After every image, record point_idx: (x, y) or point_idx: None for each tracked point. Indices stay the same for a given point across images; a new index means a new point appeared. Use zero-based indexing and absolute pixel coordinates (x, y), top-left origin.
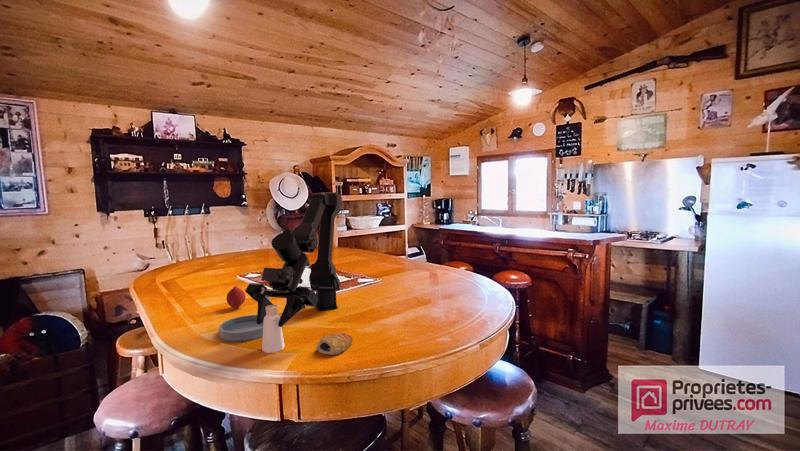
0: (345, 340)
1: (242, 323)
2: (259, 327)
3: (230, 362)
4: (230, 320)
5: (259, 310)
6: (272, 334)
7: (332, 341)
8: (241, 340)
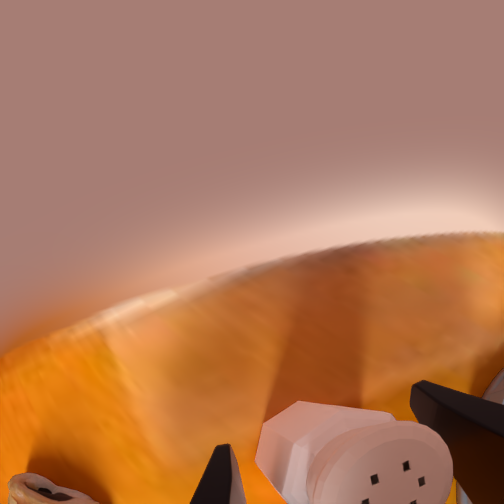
0: None
1: None
2: None
3: (346, 269)
4: None
5: (490, 414)
6: (280, 426)
7: (17, 501)
8: (485, 394)
